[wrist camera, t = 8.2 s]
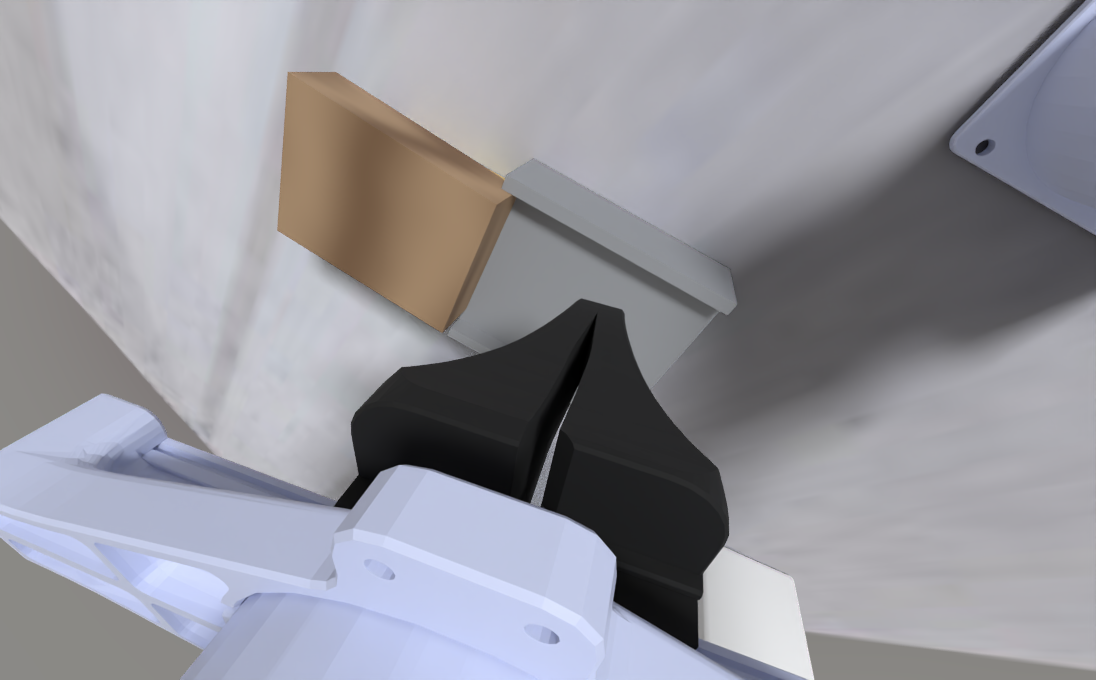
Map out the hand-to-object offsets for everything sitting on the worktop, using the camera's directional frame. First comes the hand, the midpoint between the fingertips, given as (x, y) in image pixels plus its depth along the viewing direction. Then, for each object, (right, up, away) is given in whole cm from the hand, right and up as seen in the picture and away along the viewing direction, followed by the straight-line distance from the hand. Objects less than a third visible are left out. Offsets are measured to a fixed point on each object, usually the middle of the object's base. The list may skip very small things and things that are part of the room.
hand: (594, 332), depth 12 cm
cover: (-8, +6, +7) cm, 12 cm away
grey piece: (+1, +2, +10) cm, 10 cm away
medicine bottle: (+12, -18, +20) cm, 30 cm away
